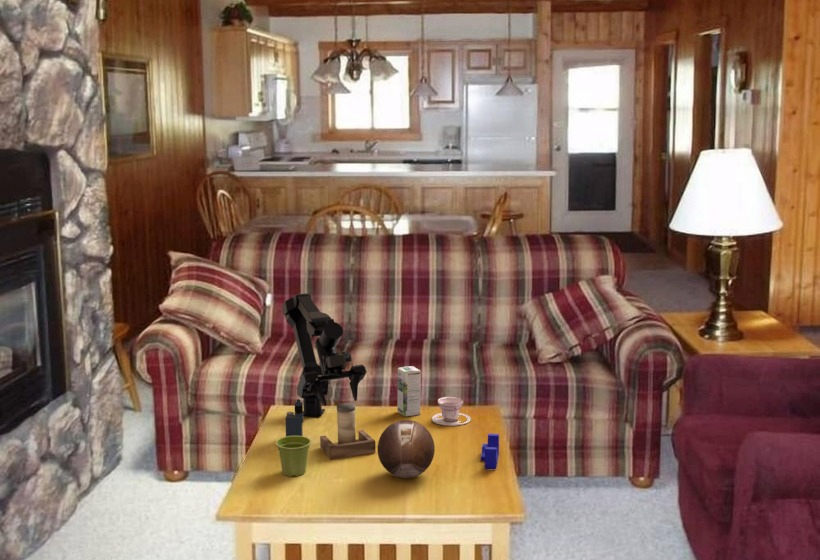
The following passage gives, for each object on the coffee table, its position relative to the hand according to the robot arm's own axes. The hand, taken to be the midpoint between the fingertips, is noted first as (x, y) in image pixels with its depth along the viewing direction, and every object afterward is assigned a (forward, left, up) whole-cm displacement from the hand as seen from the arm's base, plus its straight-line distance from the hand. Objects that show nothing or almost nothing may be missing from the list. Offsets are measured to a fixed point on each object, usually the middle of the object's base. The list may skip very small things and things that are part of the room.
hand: (340, 403), depth 290 cm
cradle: (+7, +3, -11) cm, 14 cm away
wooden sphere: (+24, +22, -12) cm, 35 cm away
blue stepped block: (+11, +43, -12) cm, 46 cm away
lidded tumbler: (+6, +3, -11) cm, 13 cm away
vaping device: (0, -14, -12) cm, 18 cm away
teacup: (-22, +30, -12) cm, 39 cm away
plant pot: (+25, -8, -12) cm, 29 cm away
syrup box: (-27, +16, -12) cm, 34 cm away
